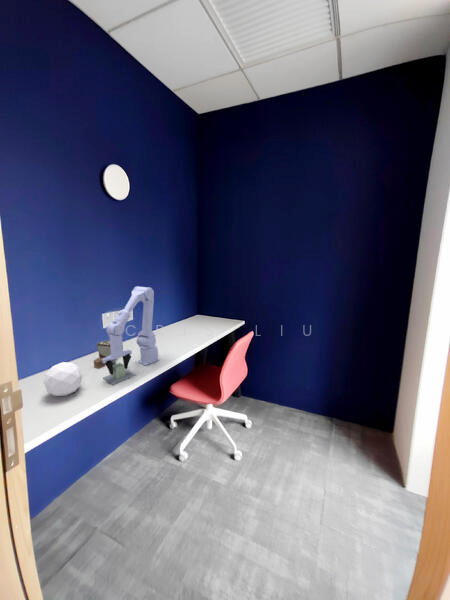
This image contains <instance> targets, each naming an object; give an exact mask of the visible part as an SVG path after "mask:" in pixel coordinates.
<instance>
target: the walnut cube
mask: <svg viewBox="0 0 450 600" xmlns="http://www.w3.org/2000/svg"><path fill="white" fill-rule="evenodd" d="M93 366H94V368H96V369H98V370H99V369H101V368H104V367H106V365H105V363H103V362H102V358H99V357H98V358H96V359H94V360H93Z"/></svg>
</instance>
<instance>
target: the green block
mask: <svg viewBox="0 0 450 600" xmlns="http://www.w3.org/2000/svg"><path fill="white" fill-rule="evenodd" d="M124 376H125V368H124V363H121V362H116V364H114V365H113V377H114V378H116V379H119V378H121V377H124Z"/></svg>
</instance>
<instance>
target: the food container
mask: <svg viewBox="0 0 450 600" xmlns="http://www.w3.org/2000/svg"><path fill="white" fill-rule="evenodd" d="M96 347H97V352H98V358H105V357H107V356H109V355H111V348H110V340H103V341H99V342H96Z"/></svg>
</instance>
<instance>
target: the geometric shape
mask: <svg viewBox="0 0 450 600" xmlns="http://www.w3.org/2000/svg"><path fill="white" fill-rule="evenodd" d="M80 368H81V367H79V366H78V365H76V364H75V363H74V362H65V361H62V362H60V363H57V364H55V365H52V366H51V367H50V369H49V370H48V371H47V372H46V373H45V375H44V376H45V377H44V380H43V384H44V387H45V390H46V392H48V393H49V394H51V395H52V396H55V397H56V396H58V397H66V396H68V395H70V394H72V393H74V392H76V390H77V389H78V388H79V387H80V385H81V383H82V380H83V379H82V378H83V373H82V371H81V369H80Z"/></svg>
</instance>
